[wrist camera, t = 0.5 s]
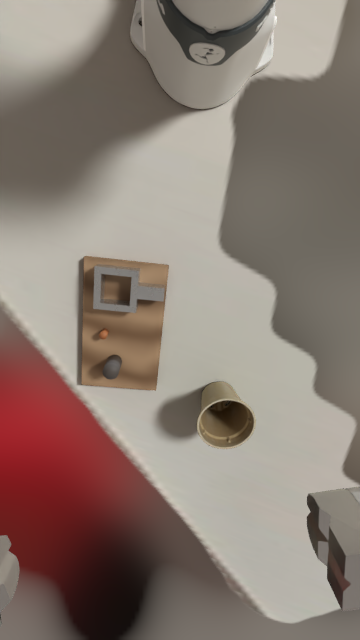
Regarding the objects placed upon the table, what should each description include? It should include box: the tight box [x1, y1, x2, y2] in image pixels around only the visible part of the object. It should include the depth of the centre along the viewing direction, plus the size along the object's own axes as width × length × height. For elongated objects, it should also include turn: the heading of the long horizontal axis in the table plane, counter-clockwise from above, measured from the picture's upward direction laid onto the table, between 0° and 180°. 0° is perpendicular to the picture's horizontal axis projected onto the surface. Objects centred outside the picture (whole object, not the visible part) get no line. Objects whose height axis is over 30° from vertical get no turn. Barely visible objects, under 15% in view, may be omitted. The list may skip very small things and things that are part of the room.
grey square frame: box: [93, 264, 165, 313], centre depth 46 cm, size 10×6×3 cm, turn 83°
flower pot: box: [197, 381, 256, 449], centre depth 51 cm, size 9×9×9 cm
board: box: [82, 256, 169, 390], centre depth 48 cm, size 22×13×6 cm, turn 173°
